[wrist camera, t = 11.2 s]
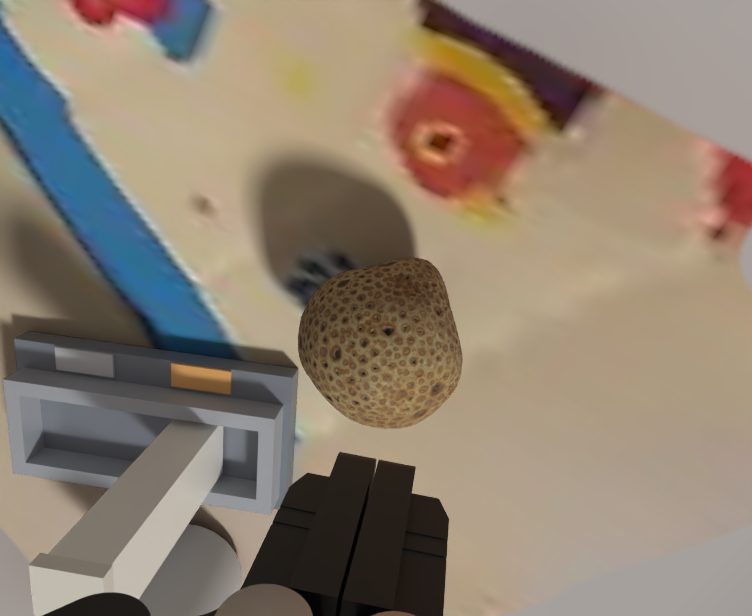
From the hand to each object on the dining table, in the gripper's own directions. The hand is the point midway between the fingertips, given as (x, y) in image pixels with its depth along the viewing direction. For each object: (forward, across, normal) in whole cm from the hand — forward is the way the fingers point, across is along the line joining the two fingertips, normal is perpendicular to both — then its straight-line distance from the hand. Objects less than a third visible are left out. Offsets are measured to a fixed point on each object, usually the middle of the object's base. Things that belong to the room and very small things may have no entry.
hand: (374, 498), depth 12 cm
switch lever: (+24, -13, -16) cm, 32 cm away
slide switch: (+26, -17, -16) cm, 35 cm away
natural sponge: (+26, -2, -6) cm, 27 cm away
